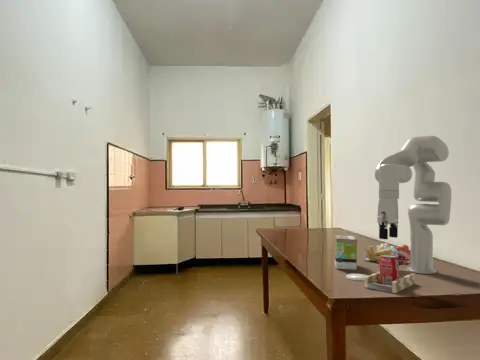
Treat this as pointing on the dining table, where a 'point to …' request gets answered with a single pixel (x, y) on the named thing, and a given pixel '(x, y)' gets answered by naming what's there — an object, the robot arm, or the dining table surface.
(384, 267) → the soda can
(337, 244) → the tea box
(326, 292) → the dining table surface
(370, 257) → the candy platter
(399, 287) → the light wood rectangular frame
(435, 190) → the robot arm
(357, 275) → the coaster
